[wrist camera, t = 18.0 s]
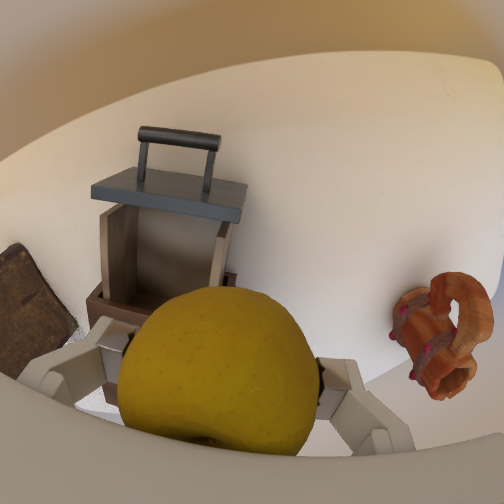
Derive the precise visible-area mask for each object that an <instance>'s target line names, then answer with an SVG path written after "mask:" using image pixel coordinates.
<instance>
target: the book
mask: <svg viewBox="0 0 504 504" xmlns="http://www.w3.org/2000/svg"><path fill="white" fill-rule="evenodd" d="M77 328H78V325H77V323H76V322H75V320H74V319H73V317H72V316H71V315H70V314H69V312H68V311H67V310H66V309H65V307H64V306H63V305H62V304H61V302H60V301H59V300H58V299H57V297H56V296H55V294H54V293H53V292H52V291H51V289H50V288H49V286H48V285H47V283H46V282H45V280H44V279H43V277H42V276H41V274H40V273H39V271H38V269H37V267H36V265H35V262H34V261H33V259H32V257H31V256H30V254H29V252H28V251H27V249H26V248H25V247H23V246H22V245H21V244H18V243H16V244H13V245H11V246H9V247H8V248H7V249H6V250H5V251H4V252H2V253H1V254H0V372H1V373H3V374H5V375H7V376H8V377H10V378H12V379H14V380H17V378H18V377H19V376H20V374H21V373H22V372H23V370H24V369H25V368H26V366H27V365H28V364H29V362H30V361H31V360H33V359H35V358H37V357H40V356H42V355H45V354H47V353H50V352H52V351H55V350H57V349H59V348H62V347H63V345H64V344H65V343H66V342H67V341H68V339H69V338H70V337H71V336H72V334H73V333H74V332H75V331H76V329H77Z"/></svg>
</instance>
